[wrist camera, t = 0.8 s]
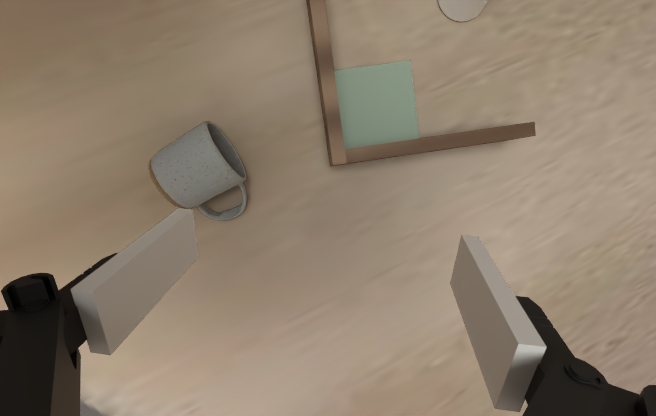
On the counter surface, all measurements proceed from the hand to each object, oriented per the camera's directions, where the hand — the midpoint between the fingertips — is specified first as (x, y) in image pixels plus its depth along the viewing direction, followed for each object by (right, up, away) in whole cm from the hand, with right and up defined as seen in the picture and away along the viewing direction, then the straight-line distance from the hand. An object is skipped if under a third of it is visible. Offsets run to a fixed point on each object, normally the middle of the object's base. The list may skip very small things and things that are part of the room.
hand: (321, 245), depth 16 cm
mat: (+6, +14, +25) cm, 30 cm away
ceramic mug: (-13, +6, +25) cm, 29 cm away
